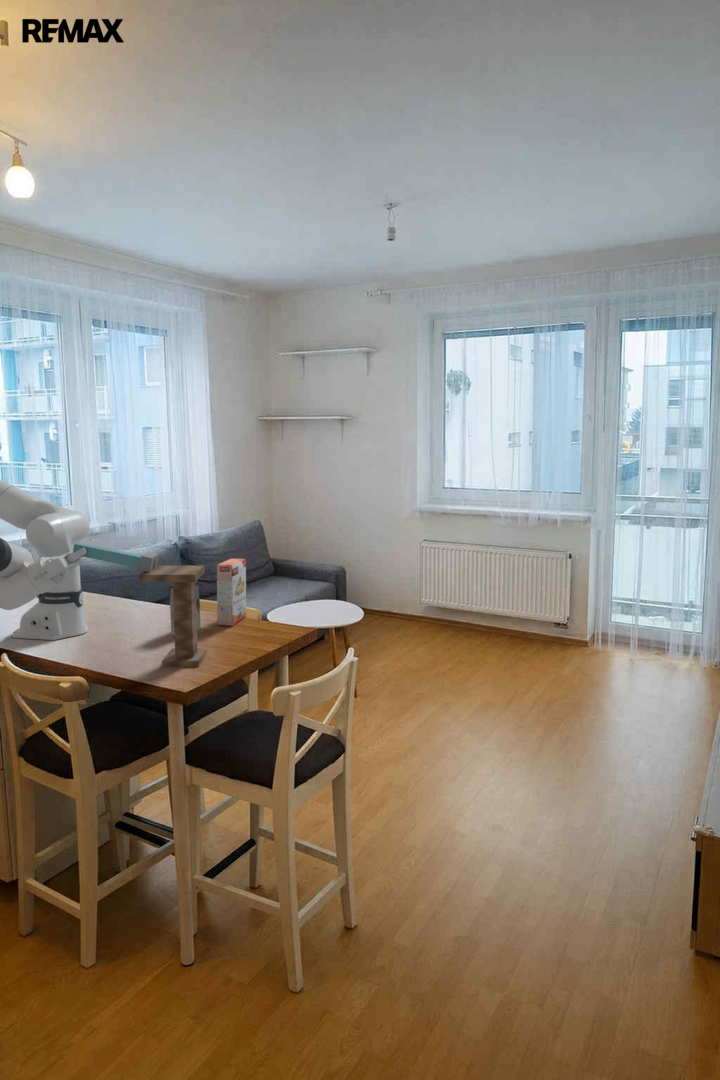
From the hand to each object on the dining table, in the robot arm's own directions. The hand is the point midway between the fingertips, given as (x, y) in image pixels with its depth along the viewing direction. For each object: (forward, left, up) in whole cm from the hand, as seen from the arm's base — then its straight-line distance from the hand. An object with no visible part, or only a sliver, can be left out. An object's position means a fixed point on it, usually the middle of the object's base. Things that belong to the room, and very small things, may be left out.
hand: (88, 548), depth 202 cm
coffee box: (+20, +30, -32) cm, 48 cm away
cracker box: (+33, +44, -32) cm, 63 cm away
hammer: (+7, 0, -4) cm, 8 cm away
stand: (+23, 0, -32) cm, 39 cm away
